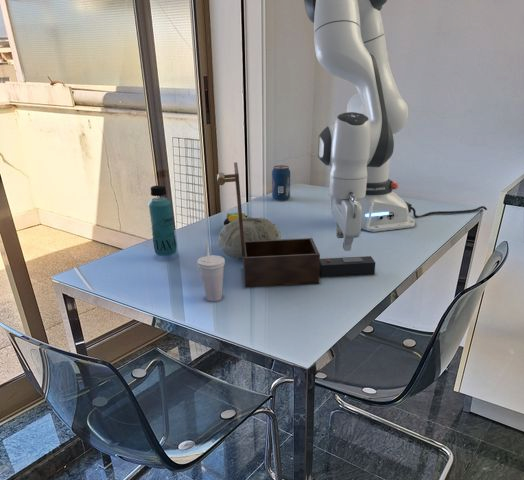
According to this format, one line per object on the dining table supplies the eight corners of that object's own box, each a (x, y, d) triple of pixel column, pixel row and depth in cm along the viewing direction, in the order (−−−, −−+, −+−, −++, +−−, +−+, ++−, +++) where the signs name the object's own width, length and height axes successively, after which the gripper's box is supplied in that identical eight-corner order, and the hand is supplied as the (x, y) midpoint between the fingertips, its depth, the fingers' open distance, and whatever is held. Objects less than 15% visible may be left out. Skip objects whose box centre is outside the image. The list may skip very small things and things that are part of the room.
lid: (237, 162, 121) (216, 163, 121) (238, 173, 111) (216, 175, 111) (243, 239, 132) (224, 241, 131) (245, 256, 121) (224, 258, 121)
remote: (369, 268, 134) (371, 255, 132) (374, 274, 130) (375, 261, 129) (318, 270, 134) (318, 257, 132) (321, 277, 130) (321, 264, 128)
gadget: (249, 227, 170) (248, 210, 168) (244, 233, 158) (243, 215, 156) (230, 226, 171) (230, 210, 169) (223, 233, 159) (223, 215, 156)
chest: (311, 265, 137) (312, 237, 133) (318, 283, 127) (319, 254, 122) (243, 269, 136) (242, 241, 132) (245, 287, 126) (243, 258, 122)
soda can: (273, 196, 198) (272, 164, 191) (290, 196, 197) (290, 164, 191) (271, 201, 192) (271, 168, 186) (289, 201, 191) (289, 168, 185)
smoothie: (201, 293, 124) (195, 238, 116) (227, 291, 124) (223, 236, 117) (200, 304, 118) (194, 247, 111) (227, 302, 119) (223, 246, 111)
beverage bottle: (151, 259, 143) (140, 188, 133) (162, 251, 149) (153, 182, 138) (171, 262, 141) (161, 190, 131) (182, 254, 147) (174, 184, 136)
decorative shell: (271, 269, 135) (270, 233, 130) (209, 264, 140) (206, 228, 134) (287, 247, 149) (287, 213, 144) (231, 242, 154) (229, 210, 149)
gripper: (370, 199, 112) (364, 257, 119) (352, 178, 129) (347, 230, 137) (342, 199, 112) (338, 258, 119) (327, 178, 129) (324, 231, 136)
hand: (343, 243), depth 128 cm, fingers open, 8 cm apart
